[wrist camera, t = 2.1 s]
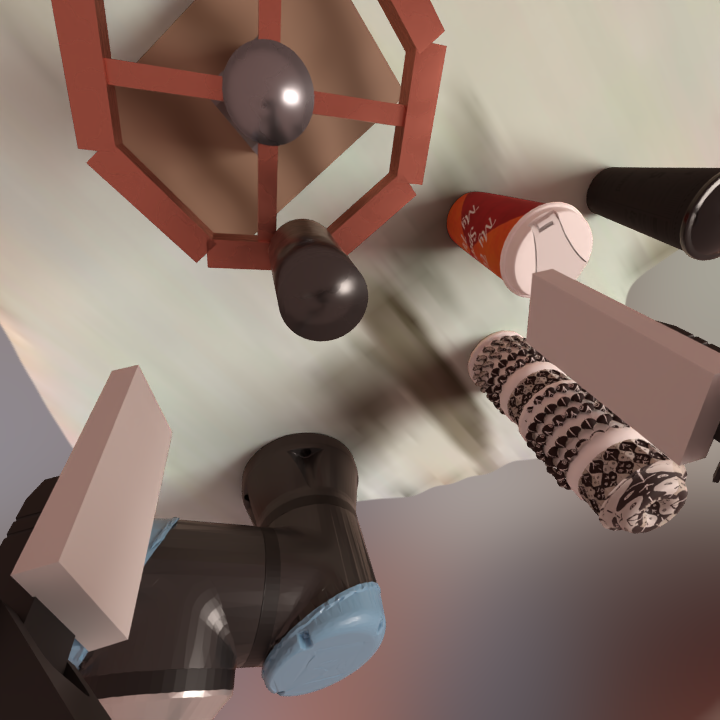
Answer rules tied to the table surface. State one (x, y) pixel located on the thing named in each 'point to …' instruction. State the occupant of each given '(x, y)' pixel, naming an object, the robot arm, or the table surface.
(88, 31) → the handwheel
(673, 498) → the decorative candle
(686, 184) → the drinking cup
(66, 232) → the table surface
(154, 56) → the brown block
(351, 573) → the robot arm
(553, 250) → the paper cup
